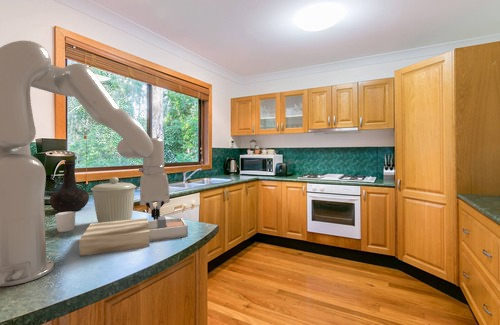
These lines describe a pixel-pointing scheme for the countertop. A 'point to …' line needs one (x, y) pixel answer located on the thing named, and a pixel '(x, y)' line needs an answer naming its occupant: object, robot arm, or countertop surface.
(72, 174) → the dark brown vase
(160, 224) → the slate tile
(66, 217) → the shot glass
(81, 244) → the board
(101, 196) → the canister
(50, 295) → the countertop surface
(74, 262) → the countertop surface
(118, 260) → the countertop surface
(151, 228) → the bin
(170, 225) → the terracotta tile
